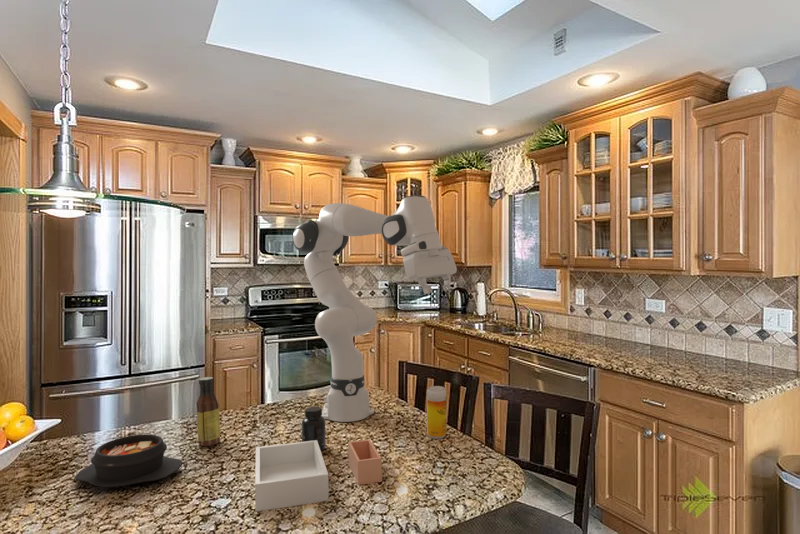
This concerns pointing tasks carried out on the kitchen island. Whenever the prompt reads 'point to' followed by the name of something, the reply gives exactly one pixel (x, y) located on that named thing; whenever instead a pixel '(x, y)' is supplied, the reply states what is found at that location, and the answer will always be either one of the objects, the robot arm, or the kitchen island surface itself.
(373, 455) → the terracotta crate
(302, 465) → the grey crate
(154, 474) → the casserole
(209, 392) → the sauce bottle
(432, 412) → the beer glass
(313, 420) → the supplement bottle
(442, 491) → the kitchen island surface
